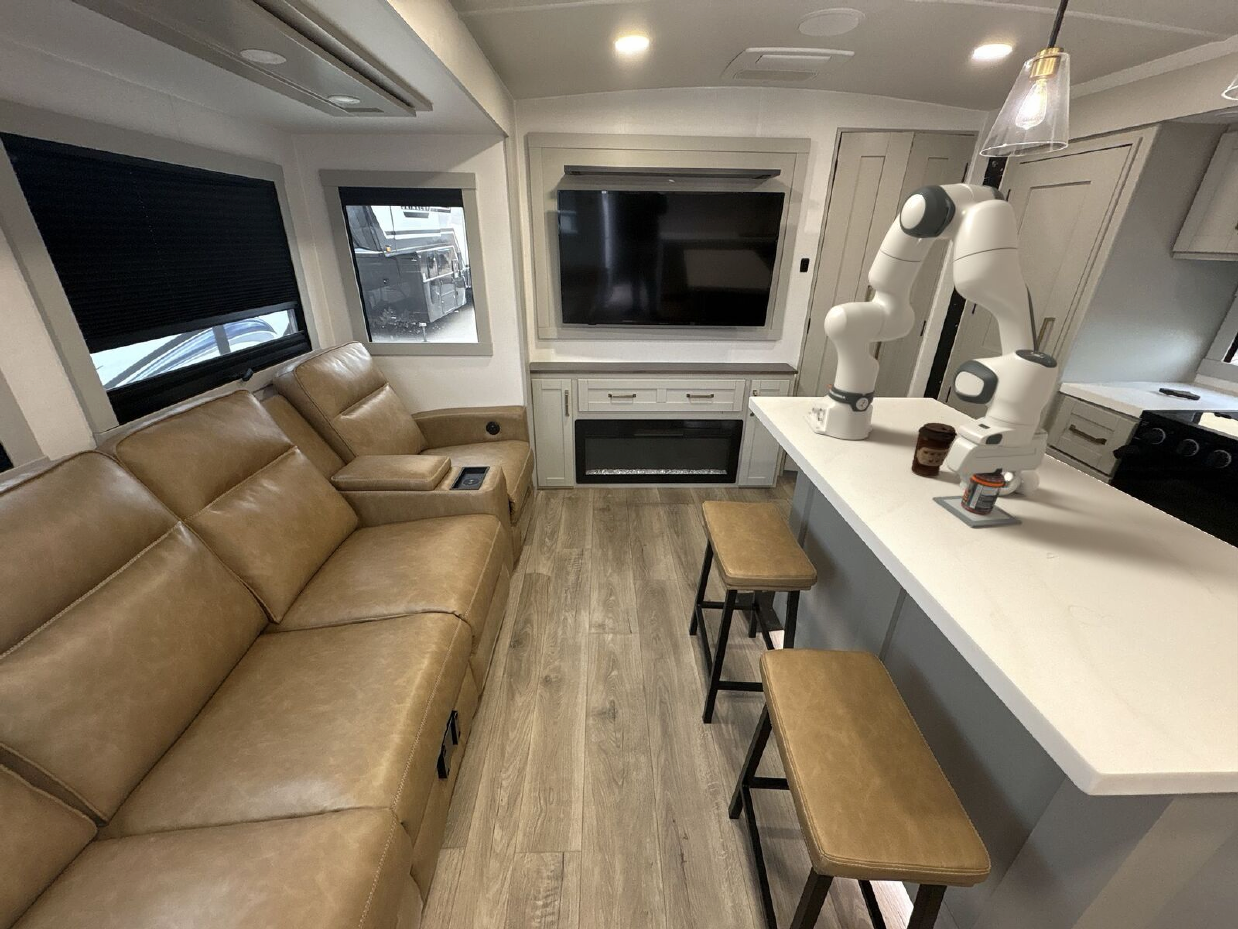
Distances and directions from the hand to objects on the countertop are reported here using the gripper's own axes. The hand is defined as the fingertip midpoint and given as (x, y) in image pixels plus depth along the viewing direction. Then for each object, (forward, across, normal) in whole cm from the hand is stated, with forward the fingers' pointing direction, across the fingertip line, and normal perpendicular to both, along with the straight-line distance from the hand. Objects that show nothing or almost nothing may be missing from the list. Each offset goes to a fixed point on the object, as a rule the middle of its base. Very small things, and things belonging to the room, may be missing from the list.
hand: (983, 487), depth 108 cm
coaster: (+6, 0, 0) cm, 6 cm away
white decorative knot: (+6, -15, -9) cm, 19 cm away
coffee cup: (+6, -2, -19) cm, 20 cm away
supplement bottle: (+6, 0, 0) cm, 6 cm away
